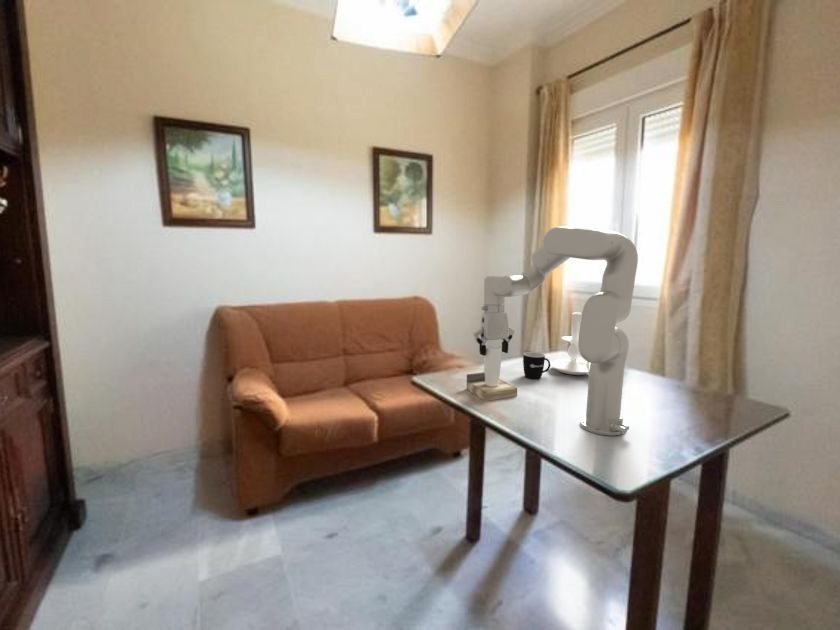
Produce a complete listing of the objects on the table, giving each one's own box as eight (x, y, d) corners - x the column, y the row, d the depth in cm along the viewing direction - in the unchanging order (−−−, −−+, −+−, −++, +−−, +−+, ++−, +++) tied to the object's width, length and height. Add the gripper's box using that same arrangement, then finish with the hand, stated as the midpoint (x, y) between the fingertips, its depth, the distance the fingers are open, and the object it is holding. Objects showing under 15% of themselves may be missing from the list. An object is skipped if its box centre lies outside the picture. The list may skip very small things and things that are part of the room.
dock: (517, 396, 153) (517, 380, 152) (484, 400, 148) (485, 385, 147) (496, 384, 166) (497, 370, 165) (466, 389, 161) (466, 374, 160)
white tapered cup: (479, 383, 158) (480, 346, 155) (493, 381, 161) (494, 344, 158) (490, 389, 152) (491, 350, 149) (504, 386, 155) (505, 348, 152)
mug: (526, 380, 172) (527, 357, 170) (519, 374, 180) (520, 352, 179) (553, 379, 173) (555, 356, 171) (545, 373, 182) (546, 351, 180)
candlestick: (572, 383, 168) (576, 317, 164) (540, 367, 191) (543, 309, 187) (614, 380, 173) (619, 315, 169) (578, 364, 197) (581, 307, 192)
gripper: (479, 311, 145) (479, 358, 147) (519, 308, 151) (518, 353, 154) (469, 309, 152) (469, 354, 154) (508, 306, 158) (507, 349, 161)
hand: (494, 353), depth 154 cm, fingers open, 9 cm apart
